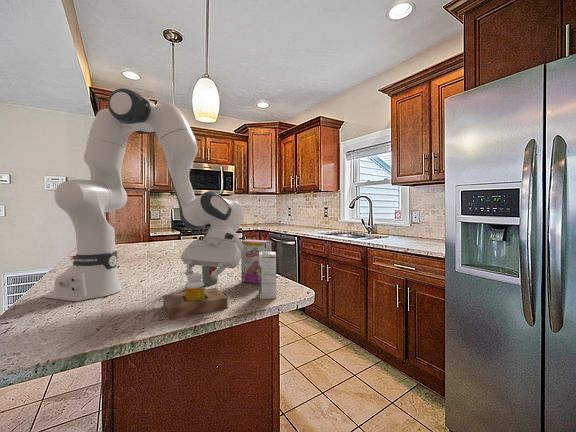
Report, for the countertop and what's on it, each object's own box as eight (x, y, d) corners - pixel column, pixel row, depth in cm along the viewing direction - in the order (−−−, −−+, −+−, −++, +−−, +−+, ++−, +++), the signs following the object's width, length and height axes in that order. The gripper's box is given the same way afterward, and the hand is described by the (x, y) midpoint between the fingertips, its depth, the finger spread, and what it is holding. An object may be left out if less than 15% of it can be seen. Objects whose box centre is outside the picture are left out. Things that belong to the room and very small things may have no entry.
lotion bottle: (220, 282, 110) (219, 231, 109) (209, 286, 105) (208, 232, 104) (210, 280, 113) (209, 230, 112) (199, 283, 108) (197, 232, 107)
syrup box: (258, 293, 95) (258, 251, 95) (276, 293, 96) (275, 251, 95) (258, 299, 90) (257, 254, 89) (276, 298, 90) (276, 254, 90)
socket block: (169, 319, 75) (168, 308, 74) (163, 305, 85) (163, 296, 85) (227, 307, 83) (227, 297, 83) (215, 296, 93) (215, 287, 93)
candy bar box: (240, 282, 109) (240, 240, 109) (247, 279, 114) (247, 239, 113) (266, 285, 105) (265, 242, 104) (272, 282, 109) (271, 240, 109)
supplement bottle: (203, 309, 82) (202, 276, 81) (184, 311, 81) (183, 277, 80) (205, 303, 87) (204, 272, 87) (187, 304, 86) (186, 273, 86)
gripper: (188, 233, 96) (167, 268, 88) (241, 235, 89) (224, 273, 80) (197, 244, 101) (178, 278, 92) (248, 247, 94) (232, 284, 85)
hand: (200, 276), depth 86 cm, fingers open, 8 cm apart
